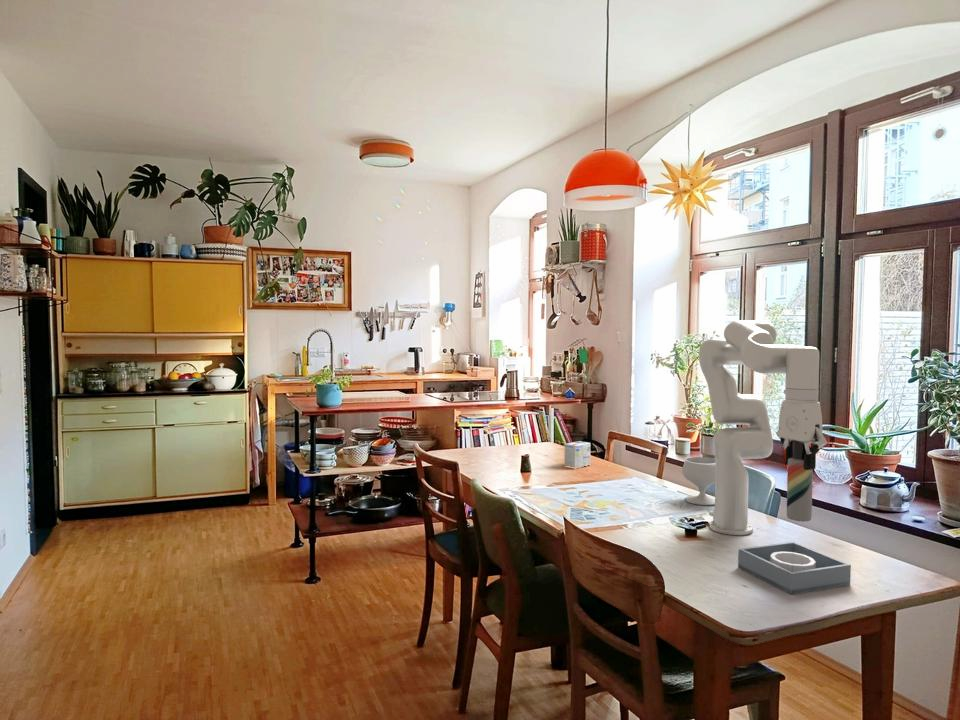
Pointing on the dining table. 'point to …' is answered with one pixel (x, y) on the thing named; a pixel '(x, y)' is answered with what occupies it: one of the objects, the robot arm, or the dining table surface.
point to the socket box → (794, 567)
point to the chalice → (700, 478)
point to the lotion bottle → (799, 485)
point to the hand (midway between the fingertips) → (799, 466)
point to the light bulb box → (577, 454)
